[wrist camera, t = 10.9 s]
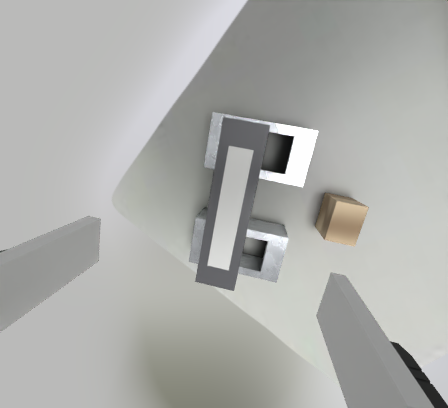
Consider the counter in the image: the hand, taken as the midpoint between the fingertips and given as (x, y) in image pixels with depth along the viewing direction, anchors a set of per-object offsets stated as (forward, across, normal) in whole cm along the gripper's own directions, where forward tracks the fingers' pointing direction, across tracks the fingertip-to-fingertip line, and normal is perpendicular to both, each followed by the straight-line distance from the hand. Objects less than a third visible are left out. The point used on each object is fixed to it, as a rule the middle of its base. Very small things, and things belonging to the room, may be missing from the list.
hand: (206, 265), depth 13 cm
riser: (+22, +14, 0) cm, 26 cm away
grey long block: (+20, 0, 0) cm, 20 cm away
